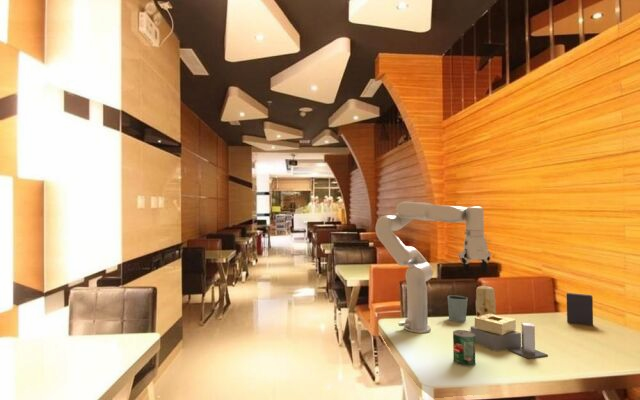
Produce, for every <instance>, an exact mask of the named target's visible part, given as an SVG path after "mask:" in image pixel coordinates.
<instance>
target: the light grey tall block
mask: <svg viewBox="0 0 640 400" xmlns="http://www.w3.org/2000/svg"><path fill="white" fill-rule="evenodd" d="M535 327H536V326H535V325H534V324H533V322H532V323H530V322H529V323H528V322H521V347H522V350H523V352H524V353H529V354H535V350H536V336H535V335H536V330H535Z"/></svg>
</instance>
